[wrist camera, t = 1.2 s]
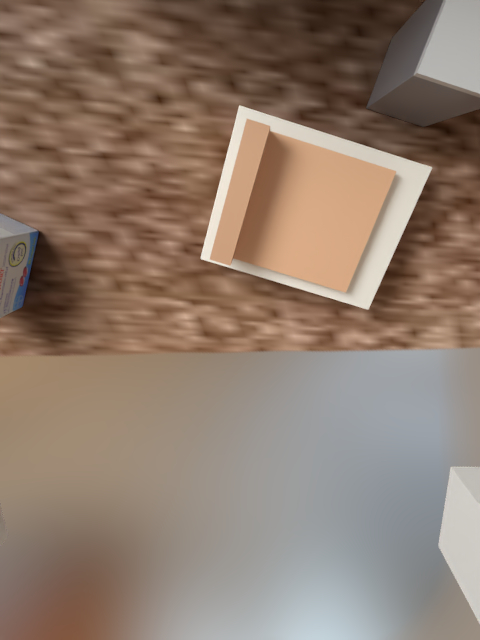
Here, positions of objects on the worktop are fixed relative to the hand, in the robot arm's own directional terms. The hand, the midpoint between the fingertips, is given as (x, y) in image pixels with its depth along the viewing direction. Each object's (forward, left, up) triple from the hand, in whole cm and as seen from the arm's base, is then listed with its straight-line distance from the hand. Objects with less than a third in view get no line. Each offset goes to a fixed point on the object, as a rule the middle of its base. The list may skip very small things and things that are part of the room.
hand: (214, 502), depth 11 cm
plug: (-18, +7, -24) cm, 30 cm away
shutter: (-7, +2, -21) cm, 22 cm away
